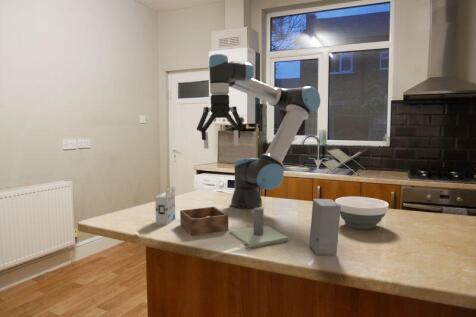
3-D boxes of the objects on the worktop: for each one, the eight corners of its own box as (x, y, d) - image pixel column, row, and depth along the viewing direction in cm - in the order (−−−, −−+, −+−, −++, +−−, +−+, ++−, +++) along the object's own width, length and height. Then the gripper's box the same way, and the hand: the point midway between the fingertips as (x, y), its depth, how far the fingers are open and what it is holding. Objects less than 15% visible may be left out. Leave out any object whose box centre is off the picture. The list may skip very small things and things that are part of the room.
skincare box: (308, 245, 109) (309, 198, 107) (329, 245, 110) (331, 197, 108) (317, 256, 101) (318, 204, 99) (339, 255, 101) (341, 204, 100)
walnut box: (214, 222, 135) (214, 206, 134) (228, 232, 122) (228, 215, 122) (180, 226, 129) (180, 210, 128) (191, 237, 116) (191, 219, 116)
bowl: (332, 230, 125) (333, 205, 124) (336, 216, 143) (336, 195, 142) (389, 236, 118) (390, 210, 117) (385, 221, 136) (386, 198, 135)
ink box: (164, 220, 138) (163, 184, 137) (175, 220, 137) (175, 185, 136) (155, 226, 130) (154, 188, 128) (167, 227, 129) (166, 189, 127)
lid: (265, 227, 126) (266, 202, 125) (288, 240, 113) (289, 211, 112) (230, 233, 120) (229, 206, 119) (249, 247, 107) (249, 216, 105)
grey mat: (265, 228, 126) (265, 227, 126) (288, 241, 113) (288, 240, 113) (229, 234, 120) (229, 233, 120) (249, 248, 107) (249, 247, 106)
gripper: (242, 95, 143) (243, 144, 146) (187, 95, 132) (189, 148, 134) (251, 94, 137) (252, 145, 139) (193, 93, 125) (196, 150, 128)
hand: (221, 147), depth 137 cm, fingers open, 13 cm apart
